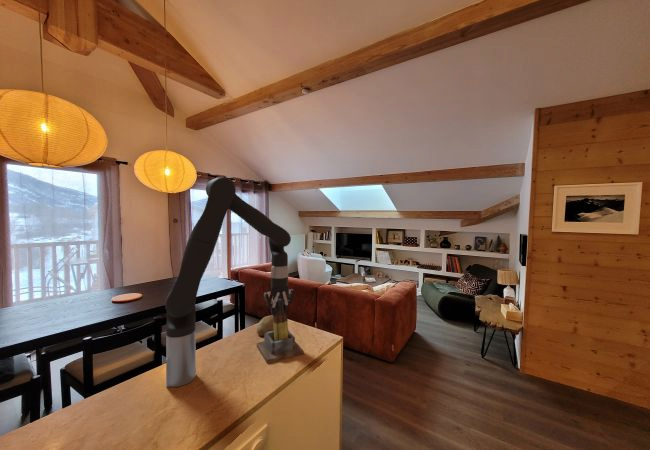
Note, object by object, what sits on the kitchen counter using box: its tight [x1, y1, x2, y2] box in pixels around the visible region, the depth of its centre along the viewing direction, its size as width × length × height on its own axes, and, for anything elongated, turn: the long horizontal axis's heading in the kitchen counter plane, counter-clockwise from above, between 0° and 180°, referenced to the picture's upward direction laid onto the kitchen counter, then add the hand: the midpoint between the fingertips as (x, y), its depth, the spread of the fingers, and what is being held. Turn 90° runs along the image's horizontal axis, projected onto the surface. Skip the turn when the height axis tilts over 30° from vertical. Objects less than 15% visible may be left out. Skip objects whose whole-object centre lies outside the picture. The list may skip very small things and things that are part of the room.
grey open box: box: [256, 330, 304, 364], centre depth 116 cm, size 16×16×6 cm
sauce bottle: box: [273, 299, 289, 341], centre depth 115 cm, size 7×6×20 cm
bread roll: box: [256, 314, 274, 337], centre depth 134 cm, size 10×15×8 cm, turn 145°
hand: (279, 314), depth 115 cm, fingers closed on sauce bottle, 4 cm apart
